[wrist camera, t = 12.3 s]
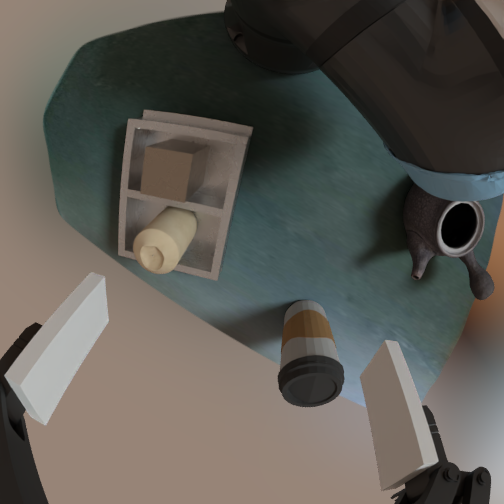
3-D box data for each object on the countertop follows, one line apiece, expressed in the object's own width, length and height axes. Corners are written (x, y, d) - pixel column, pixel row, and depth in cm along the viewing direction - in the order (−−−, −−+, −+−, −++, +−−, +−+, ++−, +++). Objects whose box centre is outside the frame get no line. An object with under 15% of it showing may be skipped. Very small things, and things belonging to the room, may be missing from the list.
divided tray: (147, 109, 32) (129, 110, 28) (253, 127, 33) (250, 128, 28) (133, 245, 42) (118, 261, 37) (222, 267, 42) (216, 287, 38)
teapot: (367, 226, 38) (392, 261, 29) (438, 147, 31) (480, 162, 23) (433, 295, 42) (458, 333, 33) (492, 232, 36) (527, 260, 27)
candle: (153, 210, 38) (119, 241, 29) (189, 199, 37) (162, 228, 28) (167, 246, 40) (140, 284, 31) (203, 237, 39) (182, 276, 30)
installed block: (172, 138, 33) (145, 146, 26) (210, 145, 33) (193, 154, 26) (166, 176, 35) (140, 193, 28) (203, 184, 36) (184, 202, 29)
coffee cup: (276, 333, 47) (274, 408, 34) (280, 291, 43) (280, 369, 30) (326, 334, 46) (338, 408, 33) (335, 293, 43) (354, 368, 29)
